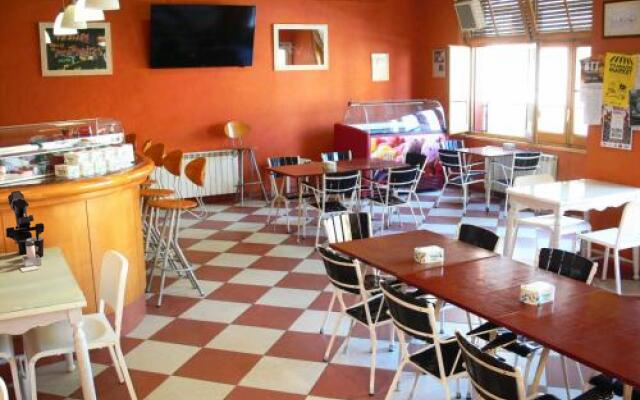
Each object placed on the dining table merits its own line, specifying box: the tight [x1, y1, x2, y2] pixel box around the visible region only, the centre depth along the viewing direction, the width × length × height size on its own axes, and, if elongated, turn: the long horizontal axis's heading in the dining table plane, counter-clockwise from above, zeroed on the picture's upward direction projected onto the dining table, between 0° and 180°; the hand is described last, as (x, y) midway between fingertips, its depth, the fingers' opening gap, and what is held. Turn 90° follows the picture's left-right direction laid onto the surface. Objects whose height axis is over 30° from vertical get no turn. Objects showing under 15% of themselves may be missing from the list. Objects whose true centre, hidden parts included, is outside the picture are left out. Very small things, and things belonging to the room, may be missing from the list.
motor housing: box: [21, 254, 42, 267], centre depth 348 cm, size 8×8×4 cm
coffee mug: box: [20, 236, 45, 258], centre depth 362 cm, size 12×9×10 cm
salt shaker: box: [25, 241, 36, 259], centre depth 347 cm, size 4×4×12 cm
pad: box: [19, 266, 39, 273], centre depth 340 cm, size 8×8×1 cm
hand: (28, 243), depth 349 cm, fingers open, 9 cm apart
